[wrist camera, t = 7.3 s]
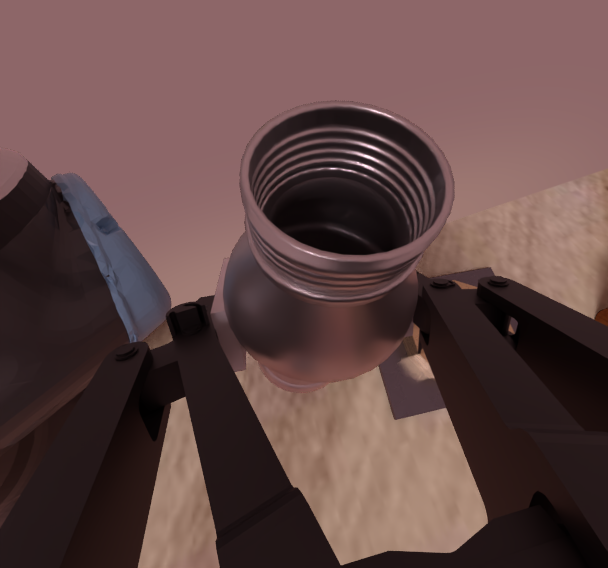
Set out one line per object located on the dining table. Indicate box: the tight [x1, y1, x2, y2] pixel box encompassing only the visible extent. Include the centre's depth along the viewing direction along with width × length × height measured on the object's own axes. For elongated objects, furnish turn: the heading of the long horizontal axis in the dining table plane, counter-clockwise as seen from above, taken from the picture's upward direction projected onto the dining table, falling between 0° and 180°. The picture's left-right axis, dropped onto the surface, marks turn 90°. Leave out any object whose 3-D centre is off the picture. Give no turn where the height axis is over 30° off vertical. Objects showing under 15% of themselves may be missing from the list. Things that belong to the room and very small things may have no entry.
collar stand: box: [378, 267, 518, 420], centre depth 35 cm, size 20×16×4 cm
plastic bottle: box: [223, 101, 454, 393], centre depth 14 cm, size 6×7×20 cm
